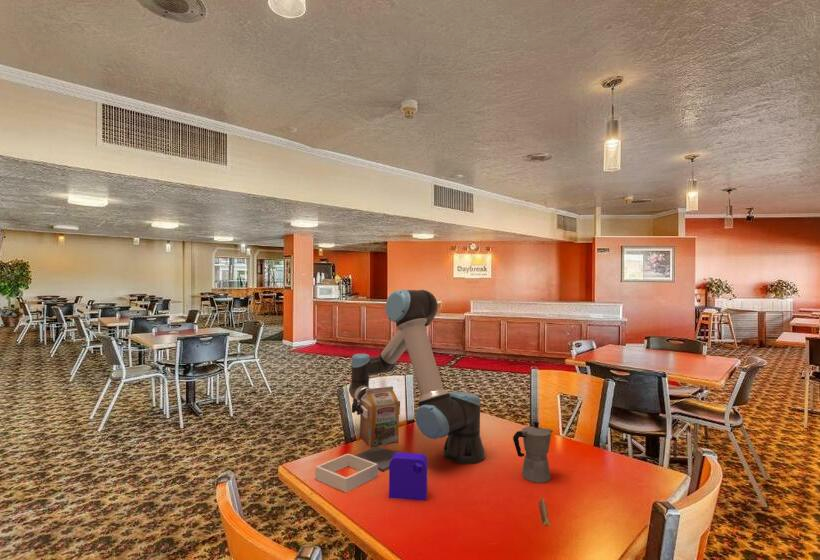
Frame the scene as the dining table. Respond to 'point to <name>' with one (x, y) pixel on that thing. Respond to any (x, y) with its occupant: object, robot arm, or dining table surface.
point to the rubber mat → (378, 457)
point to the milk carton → (380, 417)
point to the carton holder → (346, 484)
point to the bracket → (408, 476)
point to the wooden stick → (544, 512)
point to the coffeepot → (534, 452)
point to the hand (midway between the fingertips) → (383, 412)
